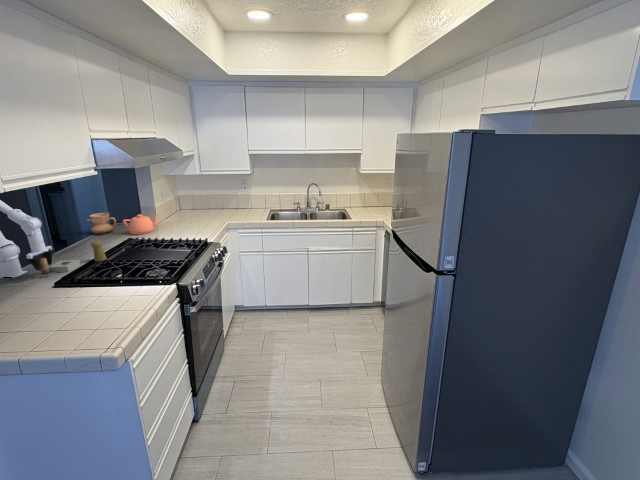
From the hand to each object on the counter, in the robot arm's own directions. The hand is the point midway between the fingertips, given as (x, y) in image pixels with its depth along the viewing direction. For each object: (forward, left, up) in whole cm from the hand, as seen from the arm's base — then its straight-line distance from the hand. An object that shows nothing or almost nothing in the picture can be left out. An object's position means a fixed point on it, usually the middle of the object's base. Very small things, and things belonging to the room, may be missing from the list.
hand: (44, 267), depth 172 cm
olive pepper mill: (+17, +19, -4) cm, 26 cm away
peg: (0, 0, -3) cm, 3 cm away
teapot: (+16, +78, -4) cm, 80 cm away
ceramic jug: (-15, +82, -4) cm, 83 cm away
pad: (0, 0, -4) cm, 4 cm away
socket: (+5, +7, -4) cm, 9 cm away
